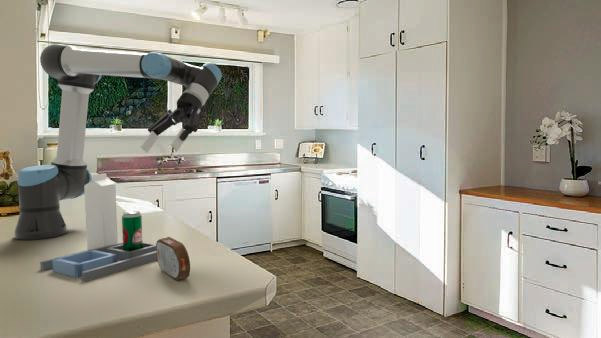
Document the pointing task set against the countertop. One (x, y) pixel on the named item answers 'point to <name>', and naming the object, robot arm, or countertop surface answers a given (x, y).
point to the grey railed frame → (100, 261)
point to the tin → (173, 258)
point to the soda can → (132, 231)
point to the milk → (100, 212)
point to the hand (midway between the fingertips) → (158, 148)
